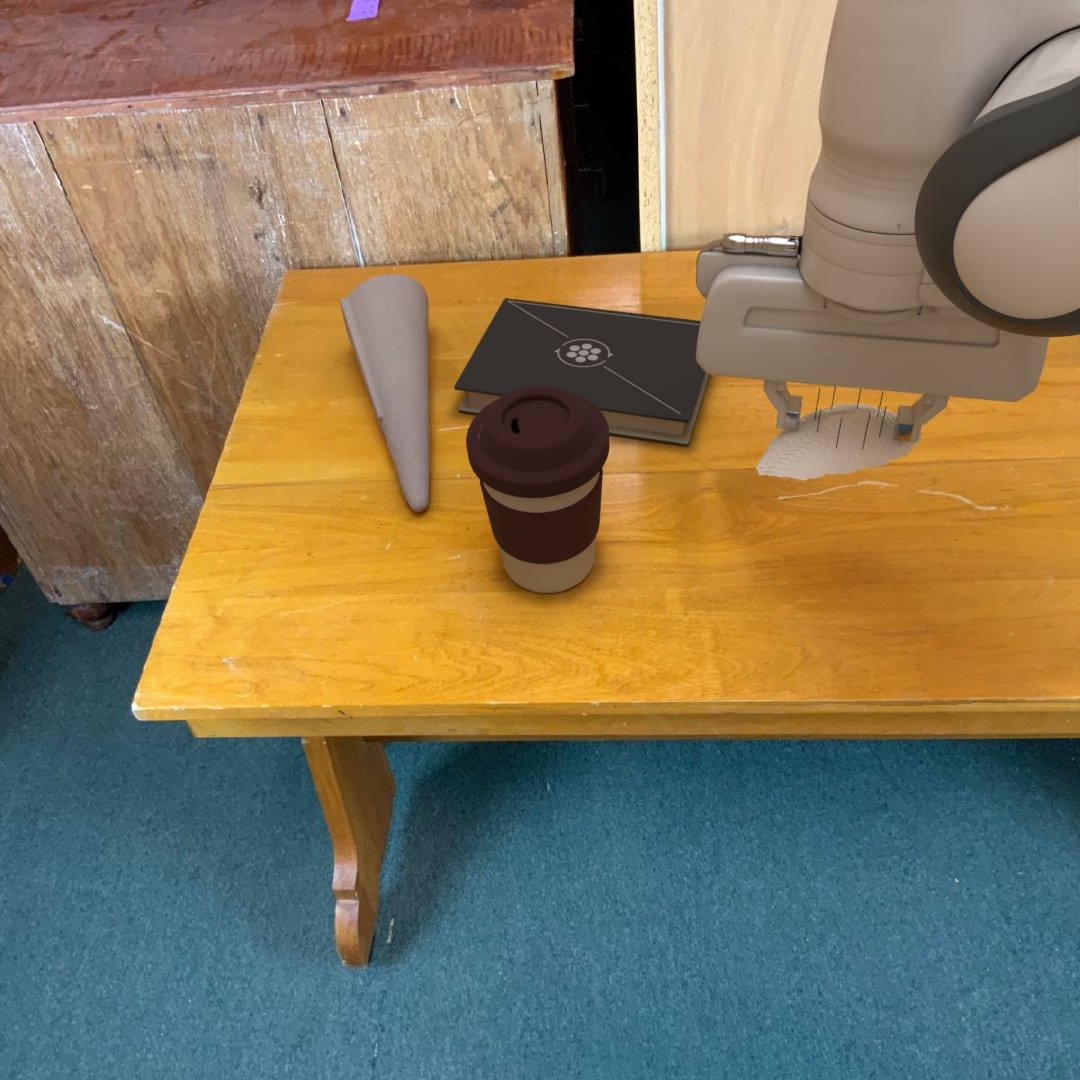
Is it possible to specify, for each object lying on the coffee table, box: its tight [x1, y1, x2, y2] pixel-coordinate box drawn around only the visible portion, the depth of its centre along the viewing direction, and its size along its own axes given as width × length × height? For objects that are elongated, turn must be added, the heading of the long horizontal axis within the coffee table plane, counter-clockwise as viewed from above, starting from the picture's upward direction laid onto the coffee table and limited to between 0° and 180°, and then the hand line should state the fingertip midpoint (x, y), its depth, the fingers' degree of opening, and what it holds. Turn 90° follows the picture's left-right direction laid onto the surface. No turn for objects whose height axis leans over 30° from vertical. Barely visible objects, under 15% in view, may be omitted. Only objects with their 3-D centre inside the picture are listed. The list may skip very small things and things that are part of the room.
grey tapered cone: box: [339, 273, 431, 513], centre depth 87 cm, size 8×9×26 cm
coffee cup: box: [465, 385, 610, 594], centre depth 70 cm, size 10×10×15 cm
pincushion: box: [755, 386, 923, 481], centre depth 64 cm, size 12×6×6 cm, turn 105°
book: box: [453, 297, 711, 447], centre depth 90 cm, size 22×15×3 cm
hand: (846, 429), depth 64 cm, fingers closed on pincushion, 6 cm apart
